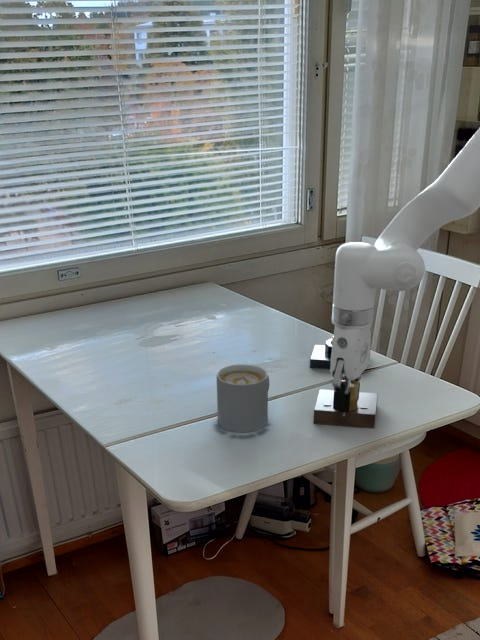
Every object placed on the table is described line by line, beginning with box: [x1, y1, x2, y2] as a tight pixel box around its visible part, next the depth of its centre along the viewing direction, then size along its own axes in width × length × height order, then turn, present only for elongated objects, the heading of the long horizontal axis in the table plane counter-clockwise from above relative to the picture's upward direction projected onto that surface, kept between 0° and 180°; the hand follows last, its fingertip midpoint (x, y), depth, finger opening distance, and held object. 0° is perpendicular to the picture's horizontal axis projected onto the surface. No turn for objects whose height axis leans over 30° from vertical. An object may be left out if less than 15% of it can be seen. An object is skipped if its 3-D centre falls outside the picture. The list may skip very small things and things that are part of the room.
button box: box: [309, 337, 332, 370], centre depth 180 cm, size 12×10×4 cm
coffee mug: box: [216, 363, 270, 434], centre depth 154 cm, size 13×10×10 cm
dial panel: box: [312, 388, 379, 429], centre depth 157 cm, size 12×12×3 cm
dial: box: [341, 380, 360, 411], centre depth 153 cm, size 4×4×5 cm
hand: (345, 404), depth 154 cm, fingers closed on dial, 4 cm apart
